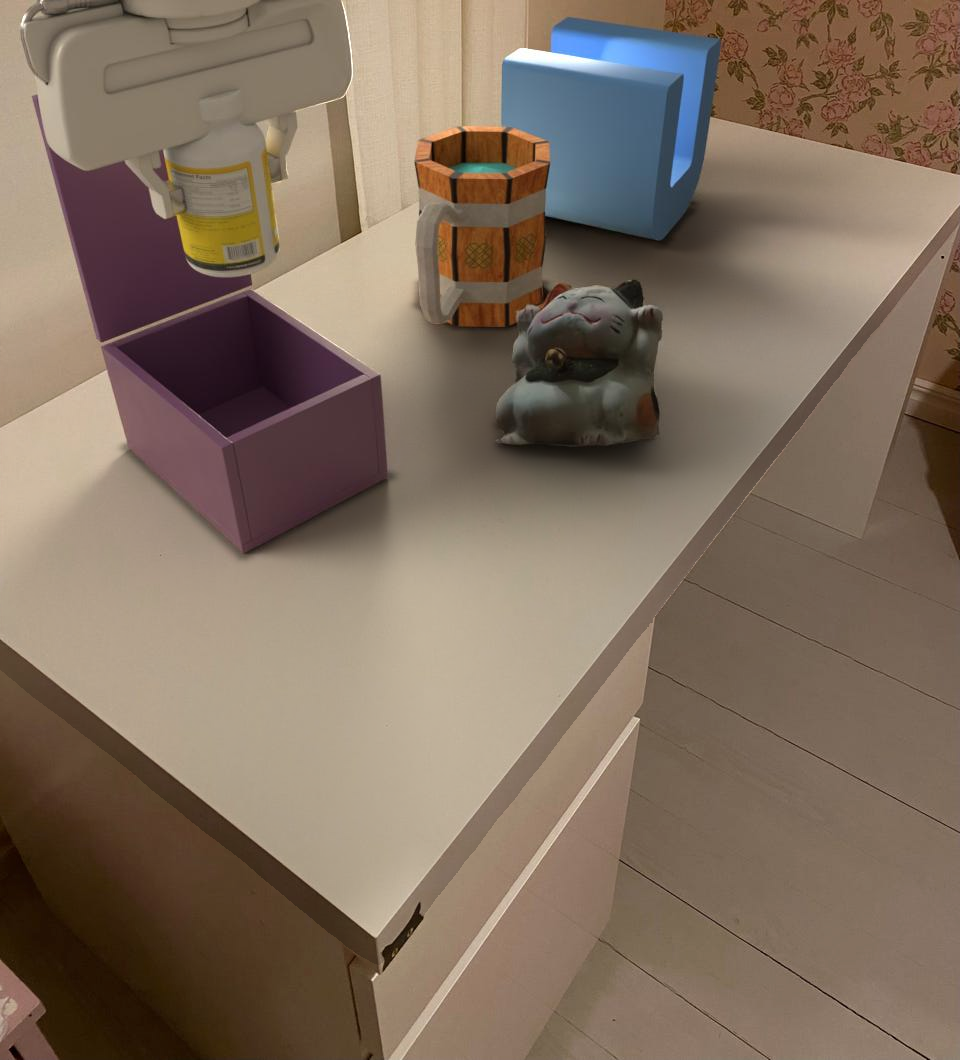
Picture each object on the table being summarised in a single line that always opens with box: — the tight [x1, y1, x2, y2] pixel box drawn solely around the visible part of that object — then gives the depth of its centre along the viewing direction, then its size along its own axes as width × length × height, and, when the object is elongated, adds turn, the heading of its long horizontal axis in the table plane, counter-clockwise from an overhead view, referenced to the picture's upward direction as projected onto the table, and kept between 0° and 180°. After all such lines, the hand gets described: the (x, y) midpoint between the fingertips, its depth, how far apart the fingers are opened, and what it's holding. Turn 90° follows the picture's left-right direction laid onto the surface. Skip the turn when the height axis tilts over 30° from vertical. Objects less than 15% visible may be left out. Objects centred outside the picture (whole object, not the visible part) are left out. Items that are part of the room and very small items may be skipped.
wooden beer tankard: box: [414, 125, 550, 328], centre depth 101 cm, size 20×14×15 cm
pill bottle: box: [163, 89, 281, 277], centre depth 69 cm, size 6×6×12 cm
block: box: [500, 16, 722, 241], centre depth 117 cm, size 18×18×18 cm
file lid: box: [31, 94, 253, 343], centre depth 80 cm, size 19×14×5 cm
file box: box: [100, 288, 389, 554], centre depth 83 cm, size 18×14×10 cm
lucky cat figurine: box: [495, 278, 664, 448], centre depth 87 cm, size 15×12×14 cm
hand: (223, 196), depth 69 cm, fingers closed on pill bottle, 6 cm apart
